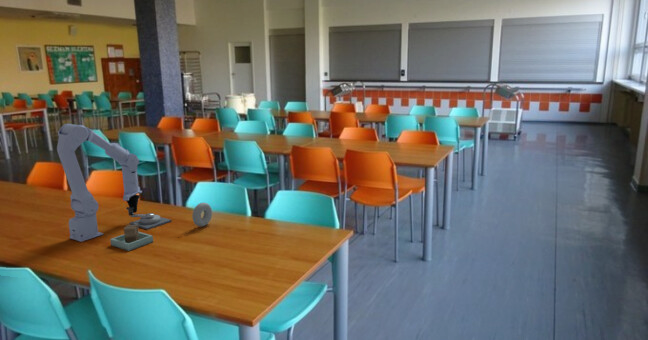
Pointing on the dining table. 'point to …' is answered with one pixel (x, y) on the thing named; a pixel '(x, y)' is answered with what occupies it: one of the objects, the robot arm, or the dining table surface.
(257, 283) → the dining table surface
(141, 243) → the tray
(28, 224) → the dining table surface
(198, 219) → the donut
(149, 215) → the crank
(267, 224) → the dining table surface
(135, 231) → the block
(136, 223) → the crank base
